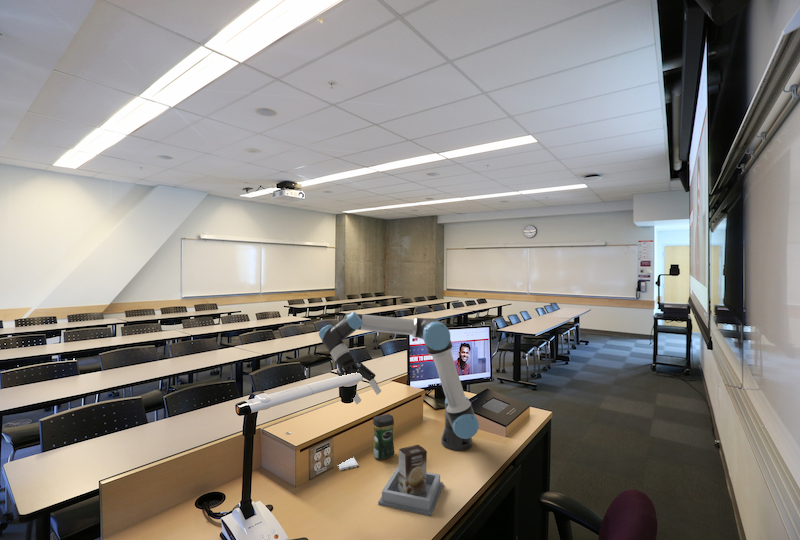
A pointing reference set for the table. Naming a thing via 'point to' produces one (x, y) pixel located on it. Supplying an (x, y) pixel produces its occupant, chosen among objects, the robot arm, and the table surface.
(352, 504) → the table surface
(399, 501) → the dock tray
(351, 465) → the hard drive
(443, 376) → the robot arm
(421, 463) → the coffee box
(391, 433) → the coffee jar
